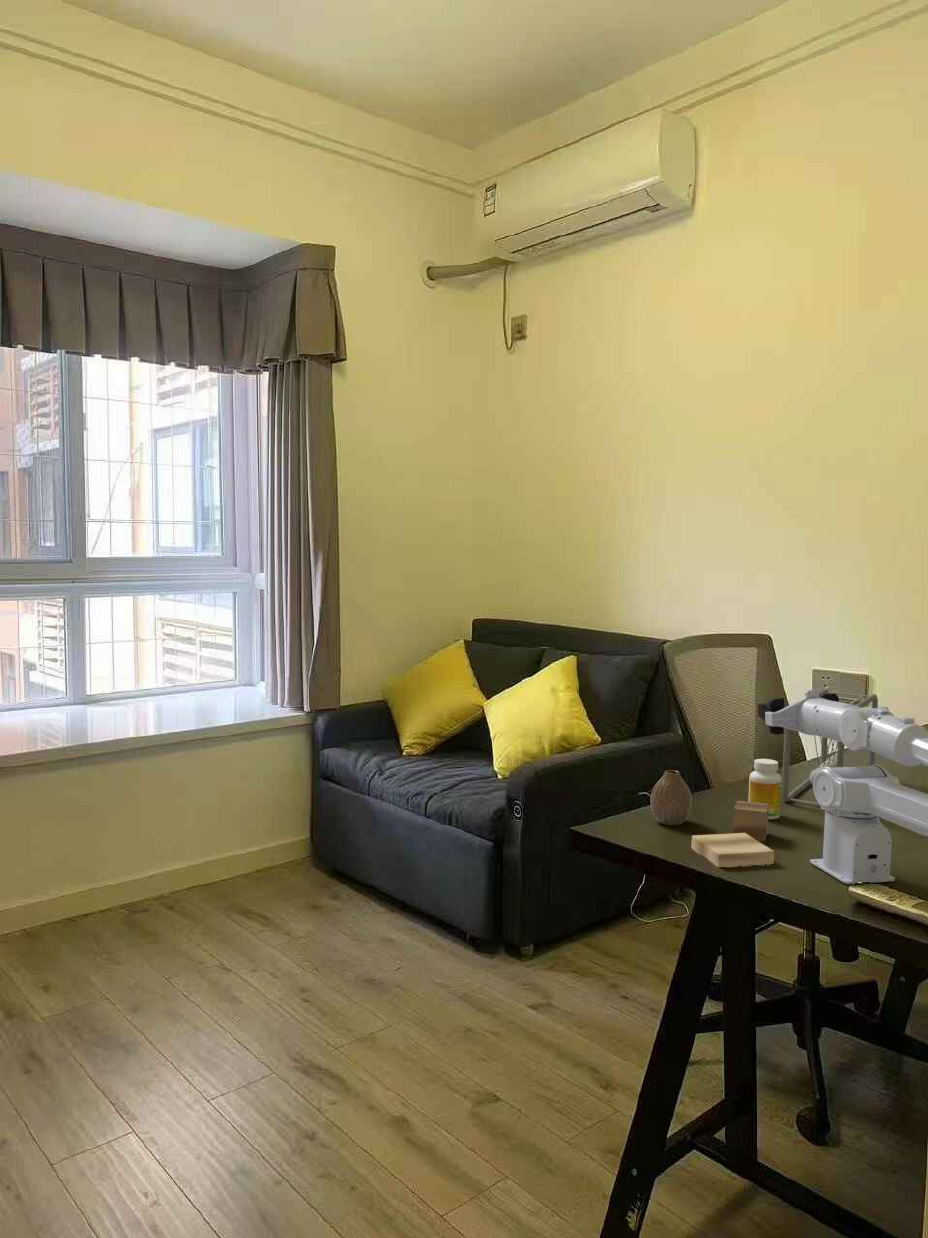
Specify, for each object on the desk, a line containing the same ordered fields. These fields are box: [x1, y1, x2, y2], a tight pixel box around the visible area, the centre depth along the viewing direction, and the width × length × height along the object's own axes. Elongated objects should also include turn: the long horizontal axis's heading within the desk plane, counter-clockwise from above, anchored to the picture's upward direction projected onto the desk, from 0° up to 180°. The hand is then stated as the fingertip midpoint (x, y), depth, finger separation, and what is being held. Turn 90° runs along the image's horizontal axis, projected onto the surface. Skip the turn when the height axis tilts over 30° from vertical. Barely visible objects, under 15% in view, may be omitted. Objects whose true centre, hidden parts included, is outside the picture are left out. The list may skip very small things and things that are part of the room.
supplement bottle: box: [747, 758, 782, 820], centre depth 172 cm, size 5×5×10 cm
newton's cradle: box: [781, 688, 879, 806], centre depth 189 cm, size 30×10×18 cm, turn 147°
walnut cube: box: [732, 800, 769, 842], centre depth 160 cm, size 5×5×5 cm
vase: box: [649, 769, 693, 826], centre depth 167 cm, size 7×7×9 cm
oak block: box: [691, 832, 775, 868], centre depth 150 cm, size 9×9×2 cm
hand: (780, 708), depth 162 cm, fingers open, 7 cm apart
